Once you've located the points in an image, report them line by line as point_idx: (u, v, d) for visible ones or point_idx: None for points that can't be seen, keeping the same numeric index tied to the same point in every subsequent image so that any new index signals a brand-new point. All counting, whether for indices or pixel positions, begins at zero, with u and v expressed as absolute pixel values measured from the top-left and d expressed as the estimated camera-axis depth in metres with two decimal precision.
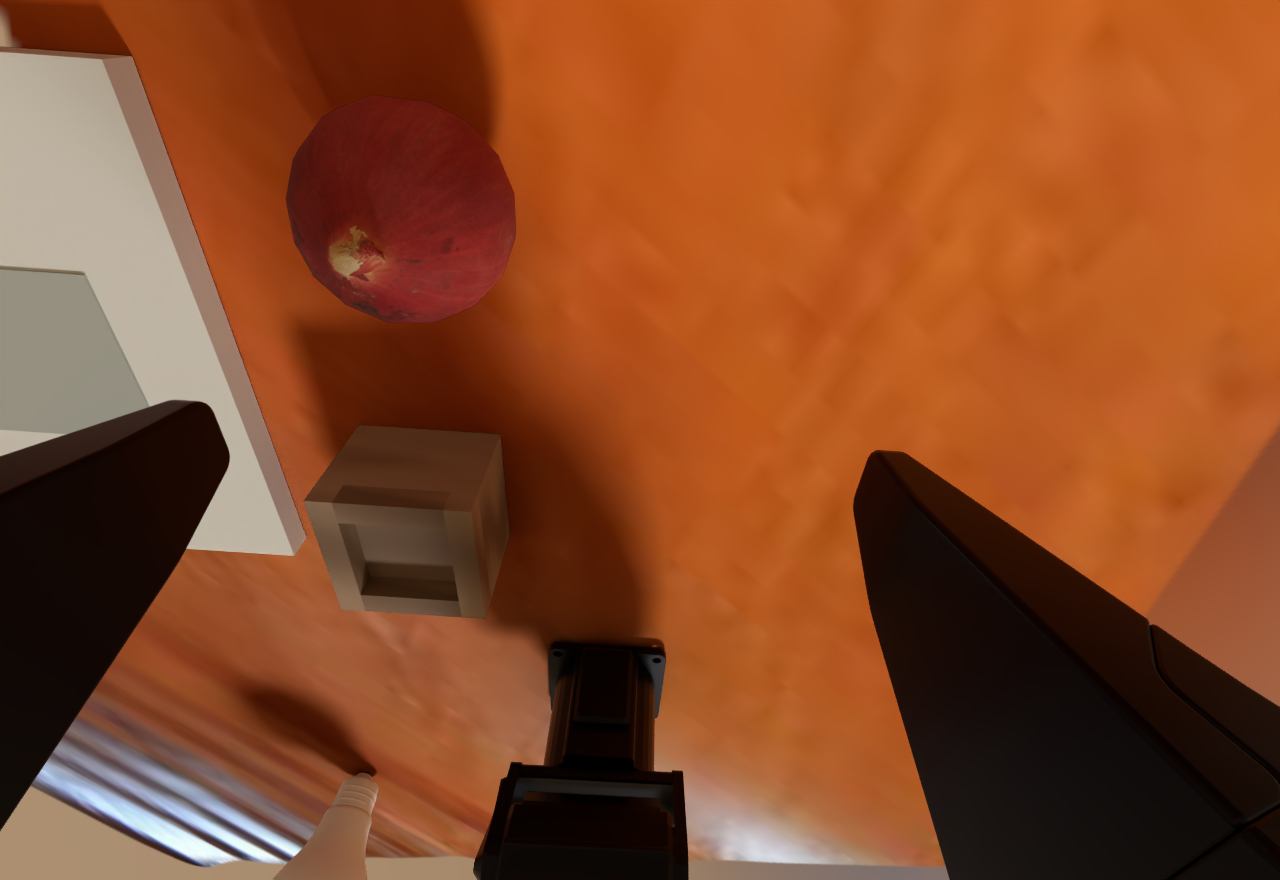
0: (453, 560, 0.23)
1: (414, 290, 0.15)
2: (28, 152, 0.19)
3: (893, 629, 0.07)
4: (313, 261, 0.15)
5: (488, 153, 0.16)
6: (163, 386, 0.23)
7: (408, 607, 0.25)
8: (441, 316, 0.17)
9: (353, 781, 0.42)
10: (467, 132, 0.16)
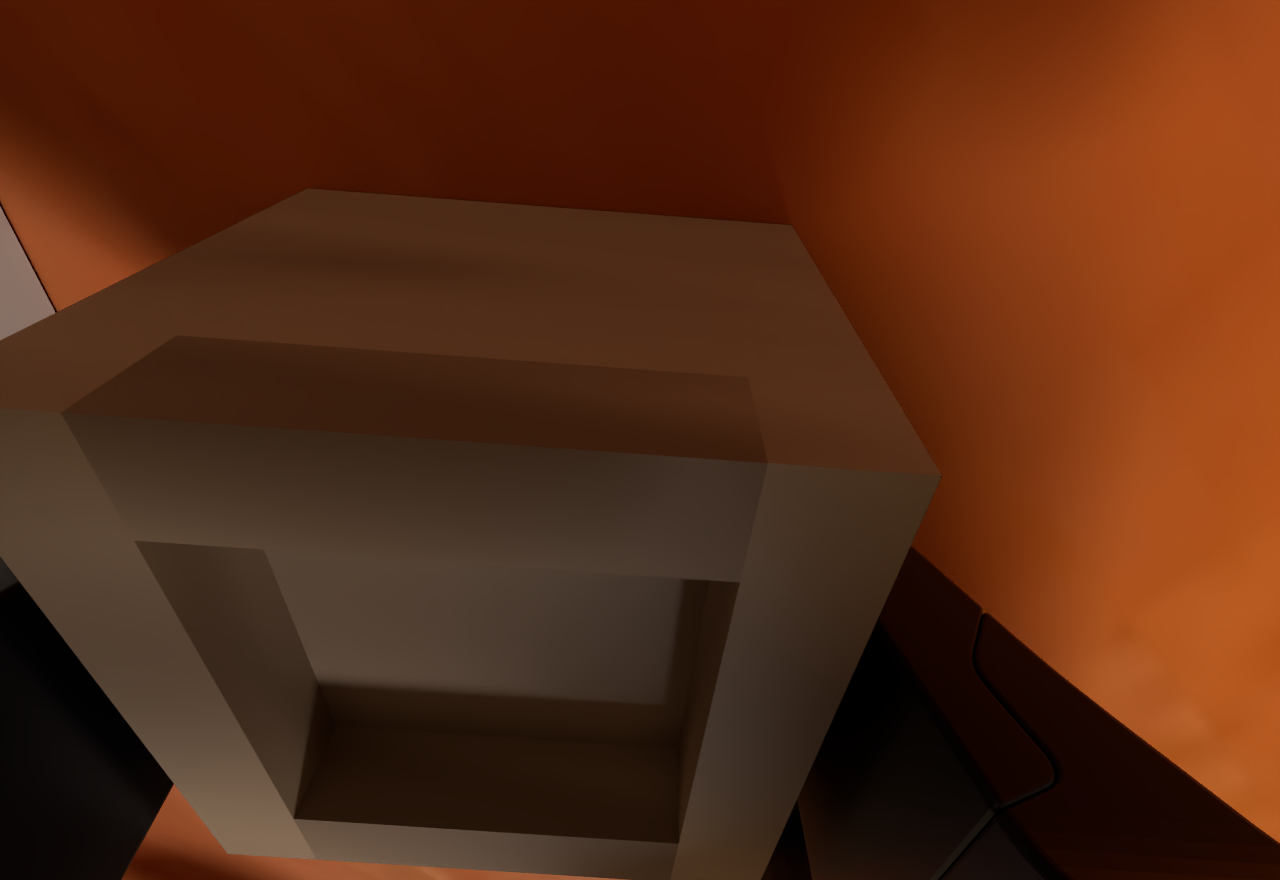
0: (716, 716, 0.05)
1: None
2: None
3: None
4: None
5: None
6: None
7: (477, 854, 0.07)
8: None
9: None
10: None
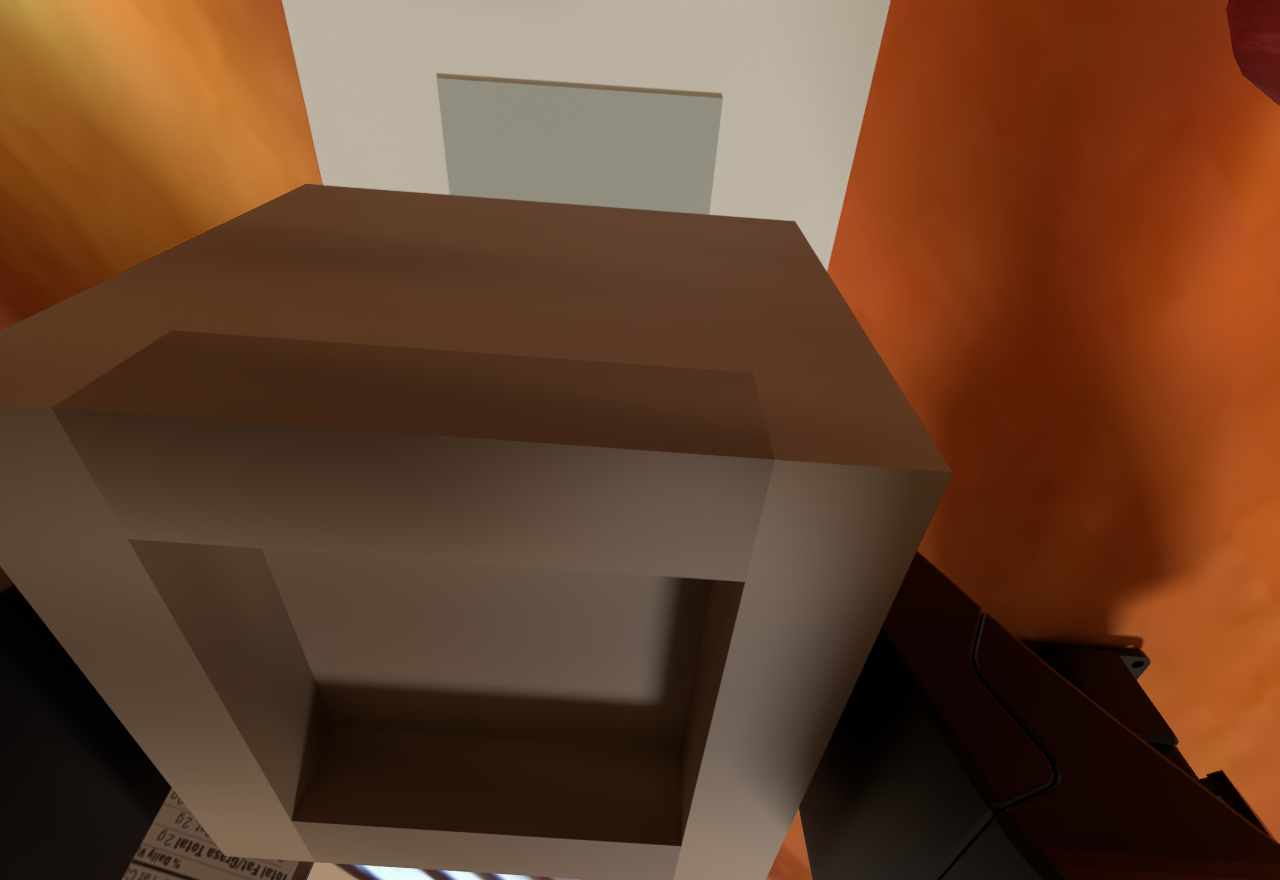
0: (720, 717, 0.05)
1: None
2: None
3: None
4: None
5: None
6: None
7: (477, 857, 0.07)
8: None
9: None
10: None
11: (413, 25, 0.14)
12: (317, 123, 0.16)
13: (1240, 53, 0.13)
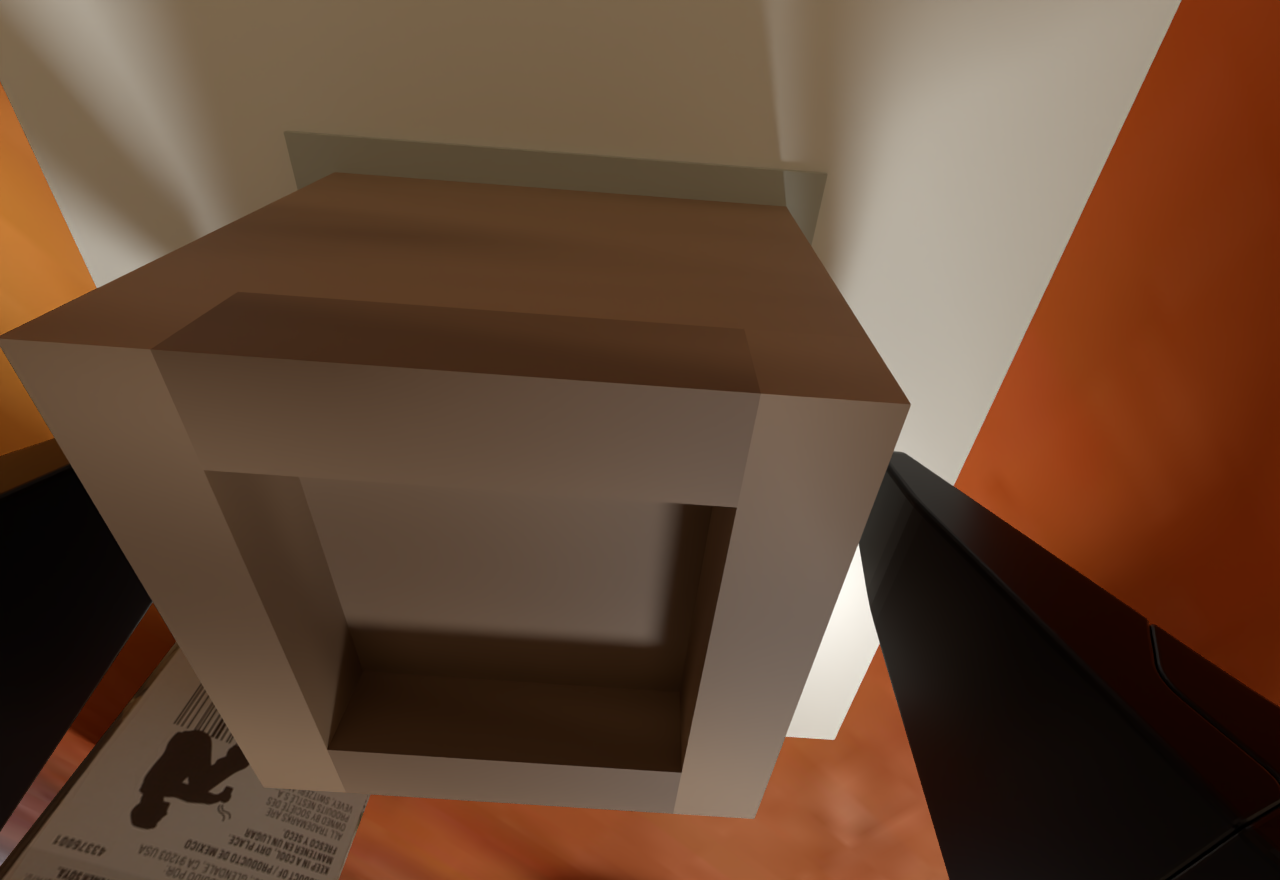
0: (716, 640, 0.06)
1: None
2: None
3: (893, 629, 0.07)
4: None
5: None
6: None
7: (495, 786, 0.07)
8: None
9: None
10: None
11: (224, 30, 0.07)
12: (75, 208, 0.09)
13: None
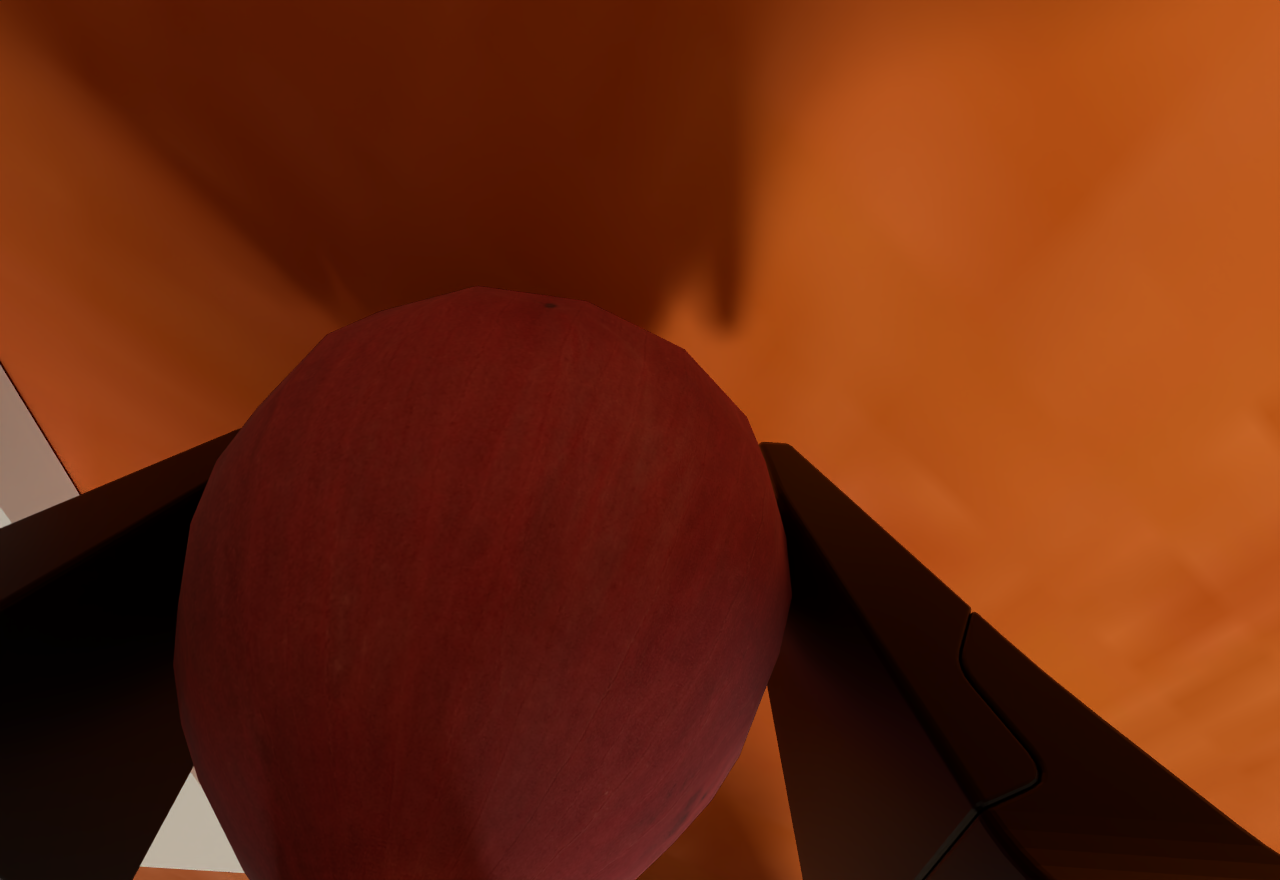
0: None
1: None
2: None
3: None
4: None
5: (752, 447, 0.06)
6: None
7: None
8: None
9: None
10: (708, 403, 0.05)
11: None
12: None
13: None
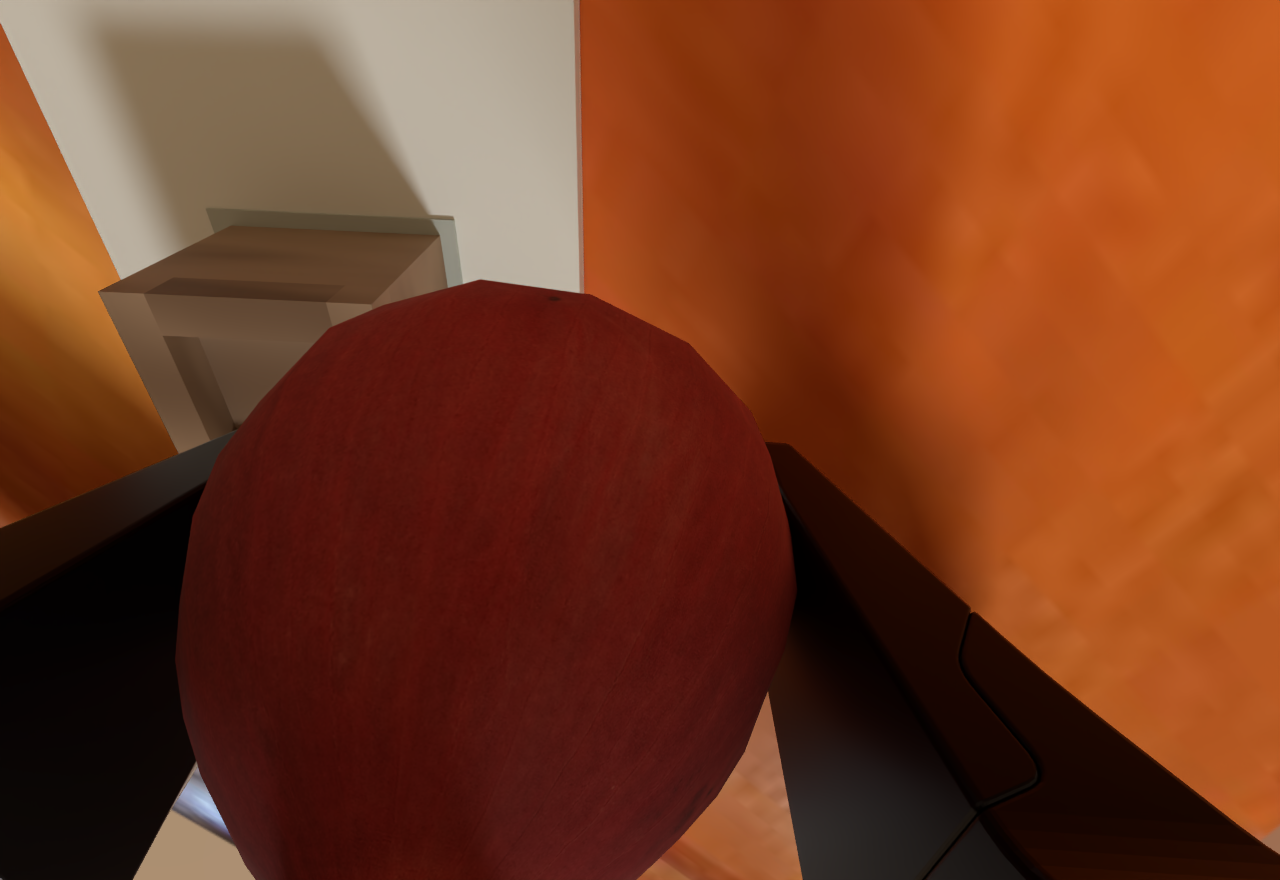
0: None
1: None
2: (435, 58, 0.15)
3: None
4: None
5: (757, 441, 0.06)
6: None
7: None
8: None
9: None
10: (713, 397, 0.05)
11: (176, 167, 0.17)
12: (111, 245, 0.18)
13: None
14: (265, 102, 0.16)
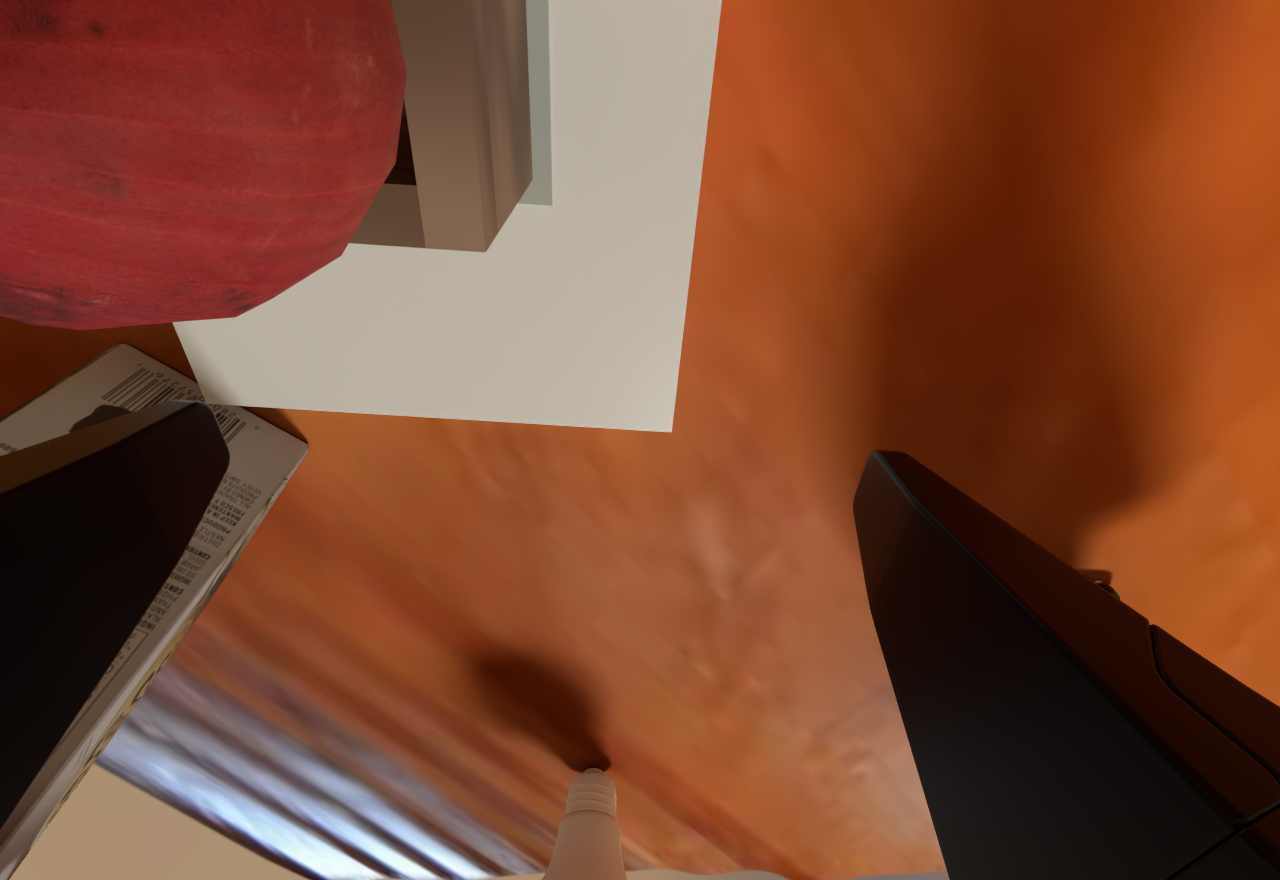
0: None
1: None
2: None
3: (893, 629, 0.07)
4: None
5: None
6: (593, 83, 0.13)
7: None
8: (200, 301, 0.06)
9: (590, 778, 0.32)
10: None
11: None
12: None
13: None
14: None
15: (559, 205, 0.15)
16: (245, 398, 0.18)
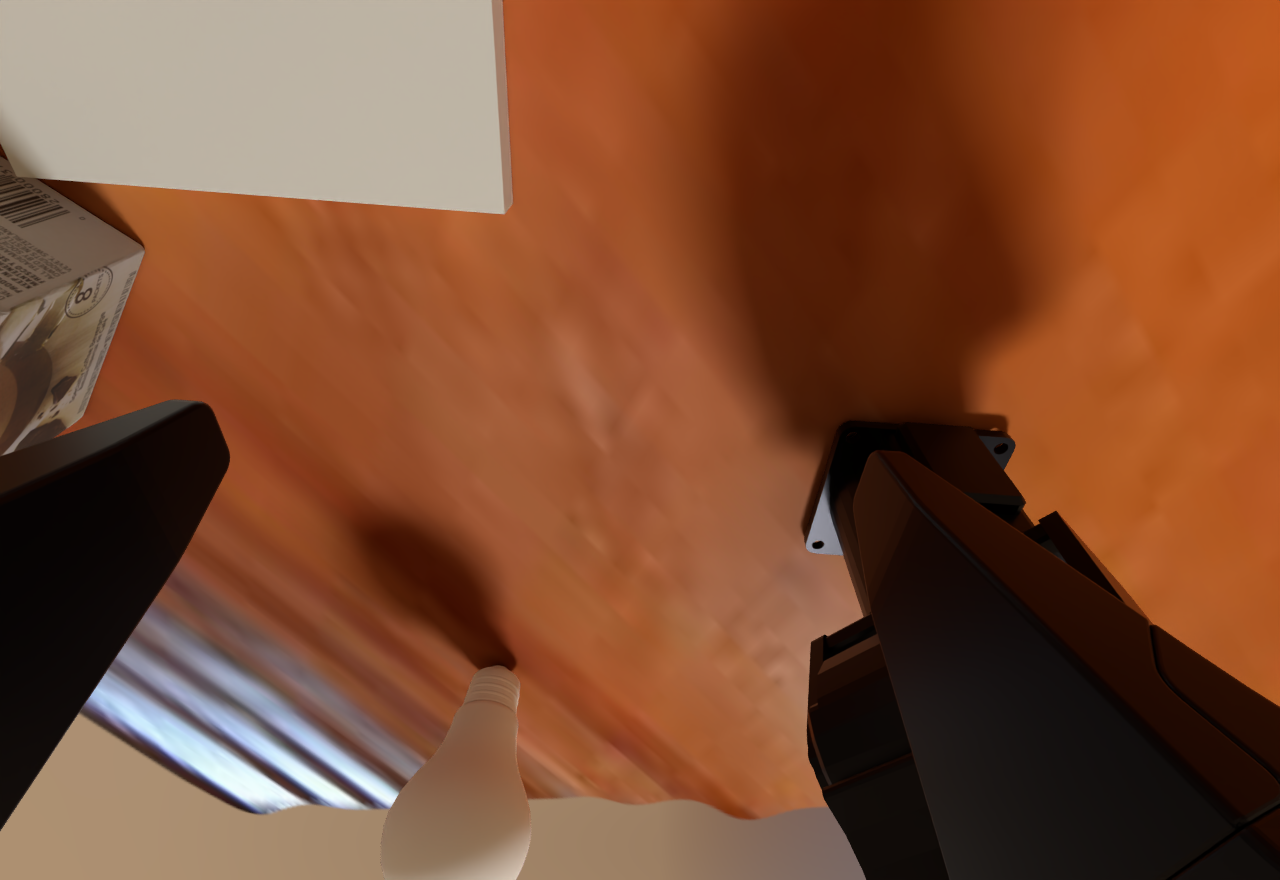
0: None
1: None
2: None
3: (893, 629, 0.07)
4: None
5: None
6: None
7: None
8: None
9: (491, 672, 0.31)
10: None
11: None
12: None
13: None
14: None
15: None
16: (55, 169, 0.17)
